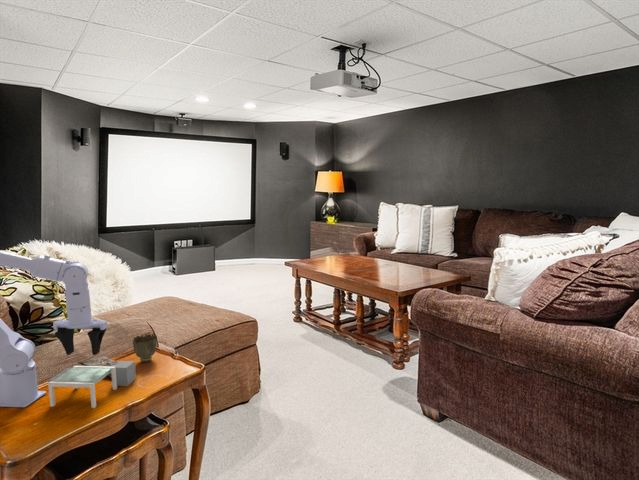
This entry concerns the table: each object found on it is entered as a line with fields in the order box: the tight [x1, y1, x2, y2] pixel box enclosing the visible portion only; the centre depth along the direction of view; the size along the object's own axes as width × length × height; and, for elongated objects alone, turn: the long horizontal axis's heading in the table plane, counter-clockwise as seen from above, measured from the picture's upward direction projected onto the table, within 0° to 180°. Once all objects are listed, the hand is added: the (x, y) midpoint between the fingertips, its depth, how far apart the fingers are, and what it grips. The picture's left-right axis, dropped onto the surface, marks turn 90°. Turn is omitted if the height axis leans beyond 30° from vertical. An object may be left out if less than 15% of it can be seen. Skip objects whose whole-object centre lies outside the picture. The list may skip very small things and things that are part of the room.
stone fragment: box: [80, 355, 119, 378], centre depth 134 cm, size 25×3×10 cm
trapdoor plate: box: [47, 366, 111, 385], centre depth 114 cm, size 12×8×2 cm
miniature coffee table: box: [47, 365, 118, 409], centre depth 114 cm, size 12×11×6 cm
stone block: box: [112, 360, 137, 387], centre depth 123 cm, size 5×5×6 cm
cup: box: [131, 333, 158, 363], centre depth 138 cm, size 8×7×8 cm
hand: (83, 353), depth 118 cm, fingers open, 7 cm apart
